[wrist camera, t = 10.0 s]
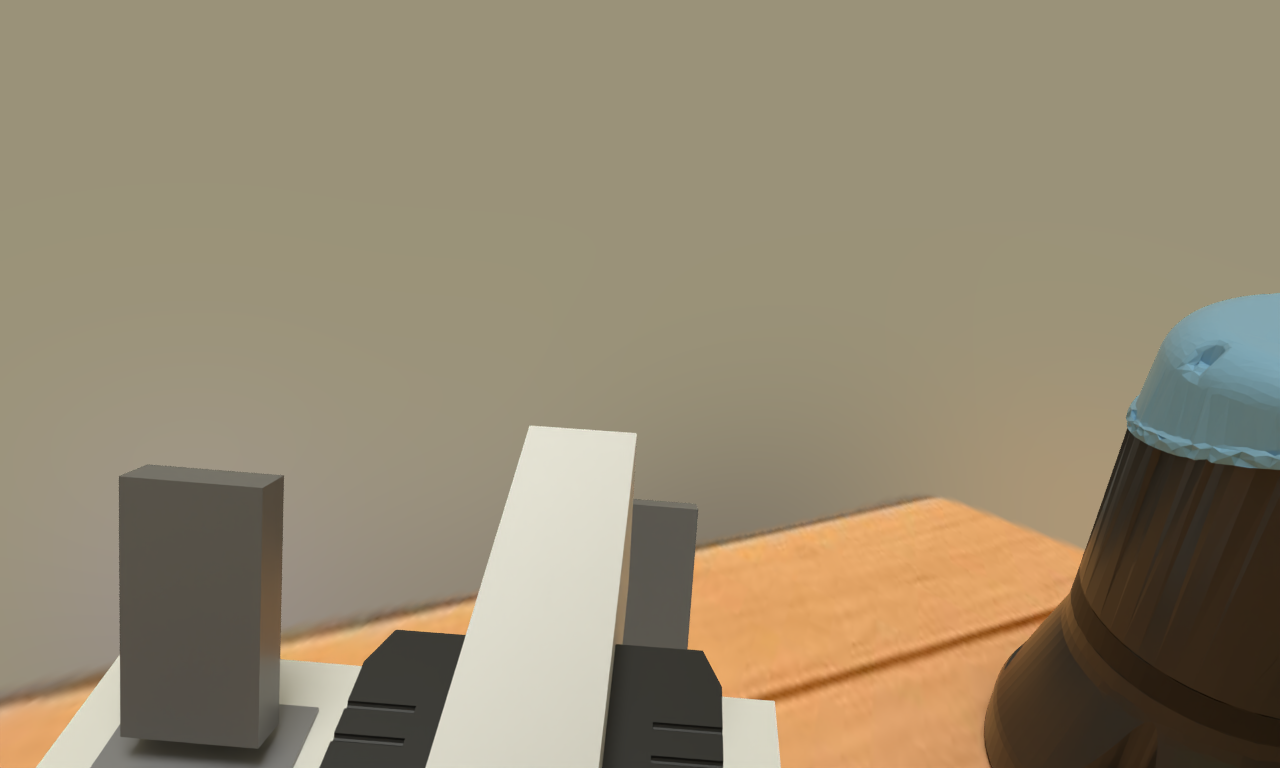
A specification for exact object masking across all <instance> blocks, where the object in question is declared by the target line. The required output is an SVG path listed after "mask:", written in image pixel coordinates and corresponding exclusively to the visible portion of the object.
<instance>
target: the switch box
mask: <svg viewBox="0 0 1280 768" xmlns="http://www.w3.org/2000/svg"><path fill="white" fill-rule="evenodd" d="M361 668H362V666H353V665H341V664H329V663H318V662H306V661H294V660H282V659H280V688H279V724H278V725H277V727H276V728H275V729H274V730H273V731H272V733H271V734H270V735H269V736H268V738H267V739H266V740H265V741H264V742H263V744H262V745H261V746H260V747H259V749H254V748H243V747H231V746H219V745H208V744H196V743H185V742H173V741H162V740H150V739H139V738H127V737H120V655H119V657H118V658H117V659H116V661H115V662H114V663H113V665H112V666H111V667H110V669H109V670H108V671H107V673H106V674H105V675H104V677H103V678H102V680H101V681H100V682H99V684H98V685H97V686H96V688H95V689H94V690H93V692H92V693H91V694H90V696H89V697H88V698H87V700H86V701H85V702H84V704H83V705H82V706H81V708H80V709H79V710H78V712H77V713H76V714H75V716H74V717H73V719H72V720H71V721H70V723H69V724H68V725H67V727H66V728H65V729H64V731H63V732H62V733H61V735H60V736H59V737H58V739H57V740H56V741H55V743H54V744H53V745H52V747H51V748H50V749H49V751H48V752H47V754H46V755H45V756H44V758H43V759H42V760H41V762H40V763H39V764H38V766H37V767H36V768H319V767H320V765H321V763H322V760H323V758H324V755H325V753H326V751H327V748H328V746H329V744H330V741H333V738H334V732H335V729H336V727H337V725H338V722H339V720H340V717H341V715H342V713H343V710H344V708H347V704H348V699H349V696H350V694H351V691H352V689H353V687H354V684H355V682H356V680H357V677H358V675H359V672H360V670H361ZM722 719H723V730H722V735H723V768H781V765H780V754H779V743H778V732H777V721H776V710H775V701H766V700H755V699H743V698H731V697H722Z"/></svg>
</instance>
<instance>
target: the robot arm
mask: <svg viewBox="0 0 1280 768" xmlns="http://www.w3.org/2000/svg"><path fill="white" fill-rule="evenodd" d="M1126 419H1127V427H1128V428H1127V431H1126V434H1125V437H1124V440H1123V443H1122V446H1121V449H1120V452H1119V454H1118V457H1117V460H1116V463H1115V466H1114V469H1113V472H1112V475H1111V477H1110V480H1109V483H1108V486H1107V489H1106V492H1105V495H1104V498H1103V501H1102V503H1101V506H1100V509H1099V512H1098V515H1097V518H1096V521H1095V524H1094V526H1093V530H1092V532H1091V535H1090V538H1089V541H1088V544H1087V546H1086V549H1085V552H1084V554H1083V557H1082V560H1081V564H1080V566H1079V569H1078V572H1077V575H1076V578H1075V580H1074V583H1073V586H1072V588H1071V591H1070V593H1069V594H1068V595H1067V597H1066V598H1065V599H1064V600H1063V601H1062V602H1061V603H1060V604H1059V605H1058V606H1057V607H1056V609H1055V610H1054V611H1053V612H1052V613H1051V614H1050V615H1049V616H1048V617H1047V618H1046V620H1045V621H1044V622H1043V623H1042V624H1041V625H1040V626H1039V627H1038V629H1037V630H1036V631H1035V632H1034V633H1033V634H1032V636H1031V637H1030V638H1029V639H1028V640H1027V641H1026V642H1025V643H1024V644H1023V645H1021V646H1020V647H1019V648H1018V649H1017V650H1016V651H1015V652H1014V653H1013V654H1012V655H1011V656H1010V657H1009V658H1008V660H1007V661H1006V663H1005V664H1004V666H1003V668H1002V670H1001V671H1000V673H999V675H998V678H997V681H996V684H995V687H994V690H993V693H992V696H991V699H990V702H989V705H988V708H987V712H986V717H985V743H986V748H987V753H988V756H989V760H990V763H991V766H992V768H1280V293H1276V294H1260V295H1251V296H1244V297H1238V298H1234V299H1228V300H1225V301H1221V302H1217V303H1214V304H1211V305H1208V306H1206V307H1203V308H1201V309H1199V310H1197V311H1195V312H1193V313H1191V314H1190V315H1188V316H1187V317H1185V318H1184V319H1182V320H1181V321H1180V322H1179V323H1178V324H1177V325H1175V327H1174V328H1173V329H1172V330H1171V331H1170V332H1169V333H1168V335H1167V336H1166V338H1165V339H1164V341H1163V343H1162V345H1161V347H1160V349H1159V351H1158V354H1157V356H1156V358H1155V360H1154V363H1153V365H1152V367H1151V370H1150V372H1149V374H1148V376H1147V379H1146V381H1145V383H1144V386H1143V388H1142V390H1141V393H1140V395H1139V396H1137V397H1136V398H1135V400H1134V401H1133V402H1132V403H1131V405H1130V407H1129V409H1128V413H1127V416H1126ZM636 438H637V433H625V432H611V431H598V430H584V429H569V428H554V427H541V426H529V430H528V433H527V436H526V440H525V443H524V446H523V449H522V453H521V456H520V459H519V462H518V466H517V469H516V472H515V476H514V479H513V482H512V485H511V489H510V492H509V496H508V499H507V502H506V505H505V508H504V512H503V515H502V518H501V522H500V525H499V528H498V531H497V535H496V538H495V541H494V545H493V548H492V551H491V555H490V558H489V561H488V564H487V567H486V571H485V574H484V577H483V581H482V584H481V587H480V590H479V594H478V597H477V600H476V604H475V607H474V610H473V613H472V617H471V620H470V623H469V627H468V630H467V633H466V635H457V634H444V633H431V632H418V631H405V630H395V631H394V632H393V633H392V634H391V635H390V636H389V637H388V638H387V639H386V640H385V641H384V642H383V643H382V644H381V645H380V646H379V647H378V648H377V649H376V650H375V651H374V652H373V653H372V654H371V655H370V656H369V657H368V658H367V659H366V660H365V661H364V663H363V665H362V668H361V670H360V672H359V675H358V677H357V680H356V682H355V684H354V687H353V689H352V691H351V694H350V696H349V699H348V704H347V708H344V710H343V713H342V715H341V717H340V720H339V722H338V725H337V727H336V729H335V732H334V738H333V741H330V744H329V746H328V748H327V751H326V753H325V755H324V758H323V760H322V763H321V765H320V767H319V768H723V735H722V730H723V719H722V686H721V685H720V683H719V681H718V679H717V677H716V675H715V673H714V671H713V669H712V668H711V666H710V664H709V662H708V660H707V658H706V656H705V654H704V652H703V651H699V650H686V649H673V648H660V647H647V646H634V645H622V644H623V634H624V624H625V614H626V605H627V595H628V585H629V567H630V549H631V530H632V512H633V494H634V473H635V456H636Z"/></svg>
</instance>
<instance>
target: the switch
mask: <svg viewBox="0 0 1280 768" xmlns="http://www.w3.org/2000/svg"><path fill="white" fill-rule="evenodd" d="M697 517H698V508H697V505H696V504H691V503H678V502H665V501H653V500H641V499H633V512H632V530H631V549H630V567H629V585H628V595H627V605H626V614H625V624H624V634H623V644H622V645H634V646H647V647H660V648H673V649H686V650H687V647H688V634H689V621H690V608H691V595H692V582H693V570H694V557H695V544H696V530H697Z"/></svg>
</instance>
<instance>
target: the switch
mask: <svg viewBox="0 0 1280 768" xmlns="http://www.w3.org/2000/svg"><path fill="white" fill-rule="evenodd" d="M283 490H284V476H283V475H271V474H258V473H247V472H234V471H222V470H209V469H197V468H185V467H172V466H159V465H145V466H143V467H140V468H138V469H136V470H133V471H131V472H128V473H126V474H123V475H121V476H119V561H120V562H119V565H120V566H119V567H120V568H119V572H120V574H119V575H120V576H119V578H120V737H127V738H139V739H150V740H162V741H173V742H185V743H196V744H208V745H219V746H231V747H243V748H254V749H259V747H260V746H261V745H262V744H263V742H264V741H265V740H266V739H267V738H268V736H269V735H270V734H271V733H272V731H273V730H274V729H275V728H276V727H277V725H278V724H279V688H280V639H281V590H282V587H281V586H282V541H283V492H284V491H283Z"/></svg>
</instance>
